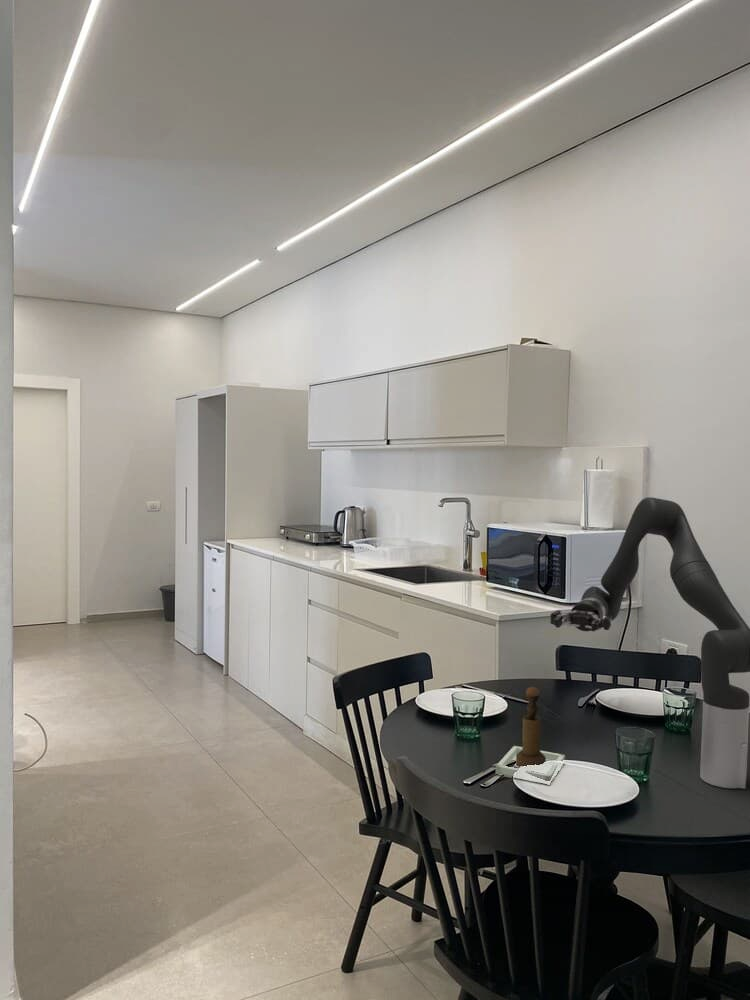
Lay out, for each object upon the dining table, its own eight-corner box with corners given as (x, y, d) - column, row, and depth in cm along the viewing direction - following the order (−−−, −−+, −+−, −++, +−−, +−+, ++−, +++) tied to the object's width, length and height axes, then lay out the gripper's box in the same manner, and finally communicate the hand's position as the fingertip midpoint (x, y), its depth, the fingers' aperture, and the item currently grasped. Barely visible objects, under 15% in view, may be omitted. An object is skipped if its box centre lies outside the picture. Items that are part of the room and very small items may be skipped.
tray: (564, 763, 185) (564, 754, 185) (549, 785, 173) (549, 776, 173) (513, 754, 191) (514, 745, 191) (495, 774, 178) (495, 765, 178)
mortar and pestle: (510, 766, 182) (512, 687, 181) (525, 758, 187) (528, 681, 185) (535, 774, 177) (538, 693, 176) (551, 766, 182) (553, 687, 181)
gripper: (561, 596, 211) (545, 606, 197) (617, 602, 205) (605, 612, 191) (560, 625, 212) (545, 637, 197) (616, 631, 206) (604, 644, 191)
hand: (574, 625), depth 194 cm, fingers open, 8 cm apart
